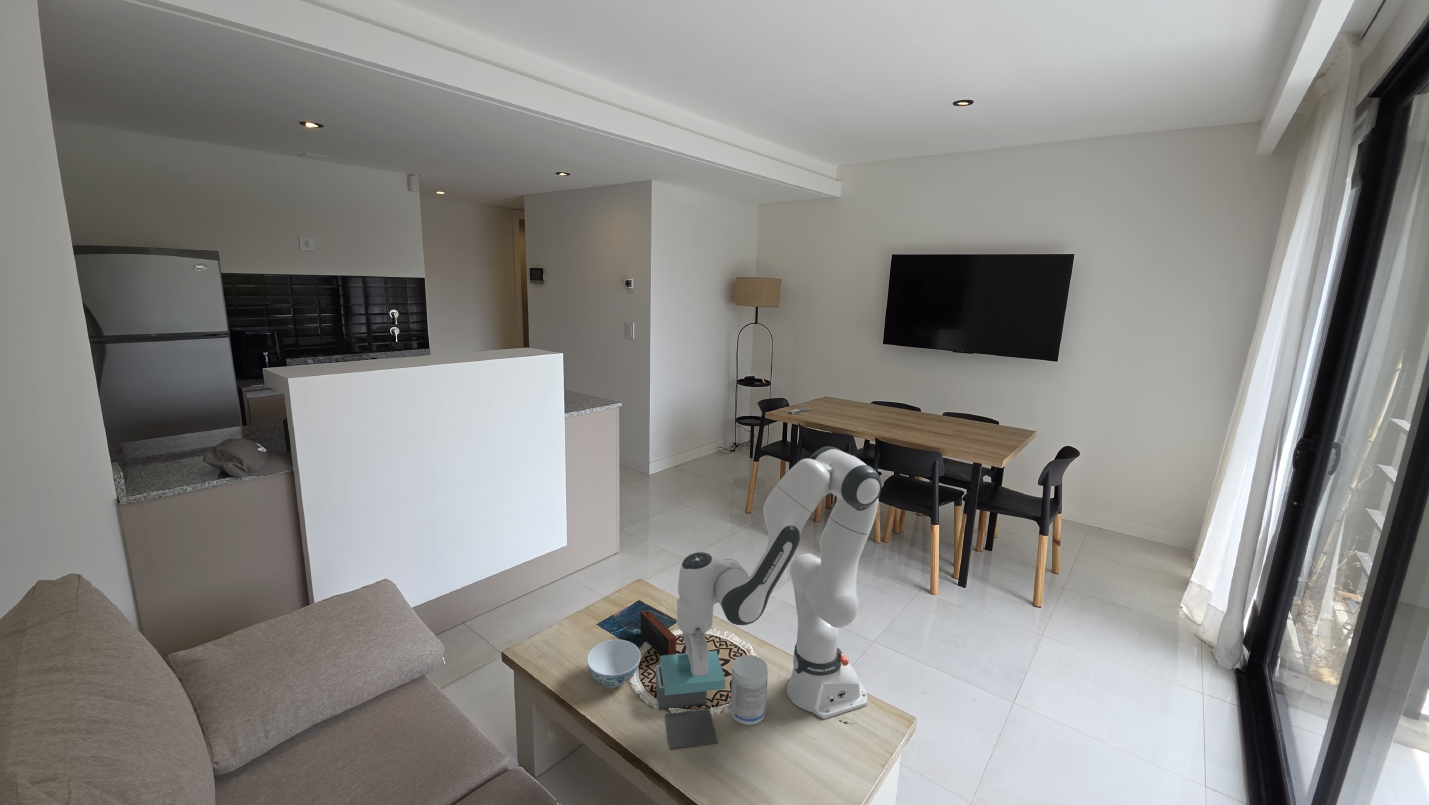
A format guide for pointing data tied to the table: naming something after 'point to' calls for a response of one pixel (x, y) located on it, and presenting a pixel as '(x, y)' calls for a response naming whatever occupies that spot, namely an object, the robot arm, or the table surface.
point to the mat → (690, 729)
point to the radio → (657, 634)
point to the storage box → (676, 696)
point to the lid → (690, 675)
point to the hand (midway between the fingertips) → (692, 665)
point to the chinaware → (613, 662)
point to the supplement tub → (749, 689)
